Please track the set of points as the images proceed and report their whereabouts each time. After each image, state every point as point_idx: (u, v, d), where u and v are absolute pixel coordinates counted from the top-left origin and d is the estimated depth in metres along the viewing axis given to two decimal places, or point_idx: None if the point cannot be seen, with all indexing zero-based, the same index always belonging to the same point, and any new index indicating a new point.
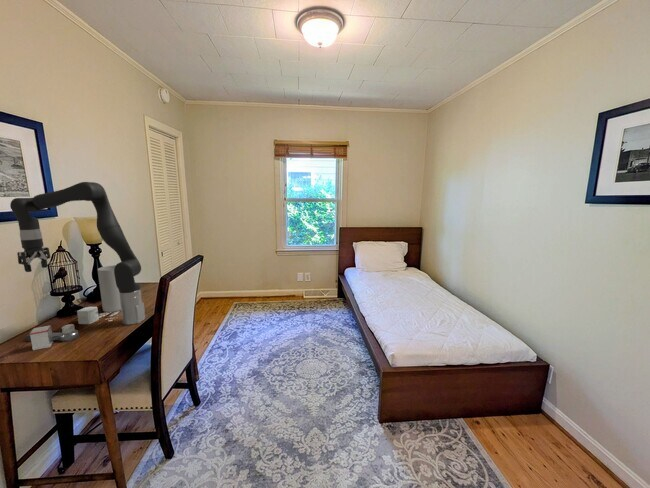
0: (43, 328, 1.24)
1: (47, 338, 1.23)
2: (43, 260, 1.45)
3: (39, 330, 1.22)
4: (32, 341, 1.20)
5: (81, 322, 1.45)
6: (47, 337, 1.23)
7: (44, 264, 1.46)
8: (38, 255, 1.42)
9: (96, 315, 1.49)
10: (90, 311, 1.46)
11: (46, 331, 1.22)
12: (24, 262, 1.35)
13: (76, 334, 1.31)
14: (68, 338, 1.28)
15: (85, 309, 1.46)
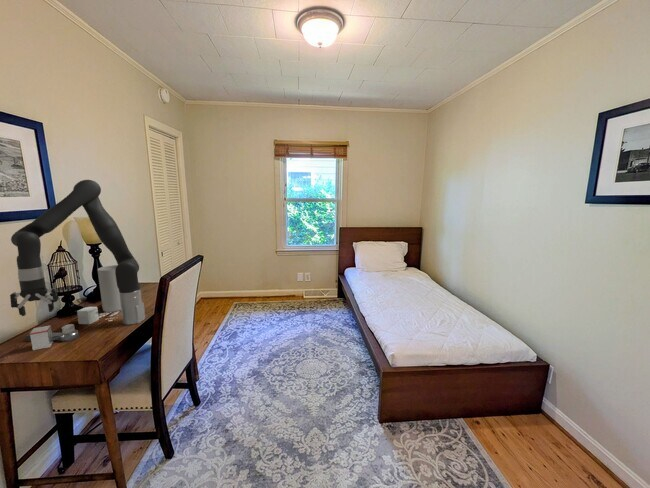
0: (43, 328, 1.24)
1: (47, 338, 1.23)
2: (23, 306, 1.19)
3: (39, 330, 1.22)
4: (32, 341, 1.20)
5: (81, 322, 1.45)
6: (47, 337, 1.23)
7: (24, 311, 1.20)
8: None
9: (96, 315, 1.49)
10: (90, 311, 1.46)
11: (46, 331, 1.22)
12: None
13: (76, 334, 1.31)
14: (68, 338, 1.28)
15: (85, 309, 1.46)
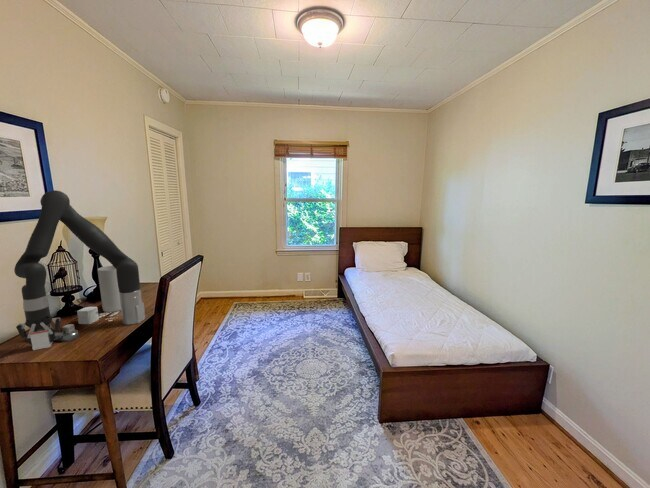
0: None
1: (47, 338, 1.23)
2: None
3: (39, 330, 1.22)
4: (32, 341, 1.20)
5: (81, 322, 1.45)
6: (47, 337, 1.23)
7: None
8: None
9: (96, 315, 1.49)
10: (90, 311, 1.46)
11: (46, 331, 1.22)
12: None
13: (76, 334, 1.31)
14: (68, 338, 1.28)
15: (85, 309, 1.46)
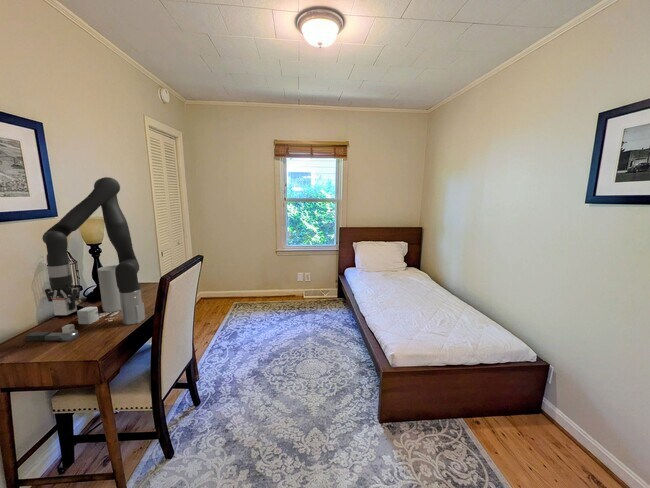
0: None
1: (65, 306, 1.26)
2: None
3: (60, 297, 1.26)
4: (54, 306, 1.25)
5: (81, 322, 1.45)
6: (65, 305, 1.26)
7: None
8: None
9: (96, 315, 1.49)
10: (90, 311, 1.46)
11: (64, 299, 1.25)
12: None
13: (76, 334, 1.31)
14: (68, 338, 1.28)
15: (85, 309, 1.46)
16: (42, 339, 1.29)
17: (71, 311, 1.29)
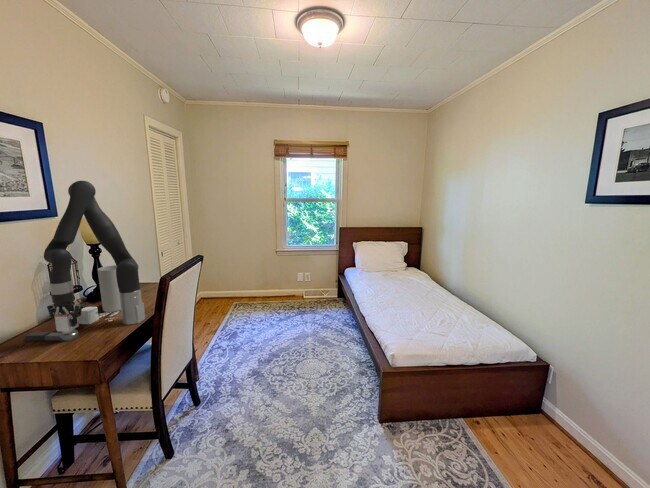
0: None
1: (67, 322, 1.27)
2: None
3: (62, 313, 1.28)
4: (56, 323, 1.27)
5: (81, 322, 1.45)
6: (67, 322, 1.27)
7: None
8: None
9: (96, 315, 1.49)
10: (90, 311, 1.46)
11: (66, 316, 1.26)
12: None
13: (76, 334, 1.31)
14: (68, 338, 1.28)
15: (85, 309, 1.46)
16: (42, 339, 1.29)
17: (73, 327, 1.30)
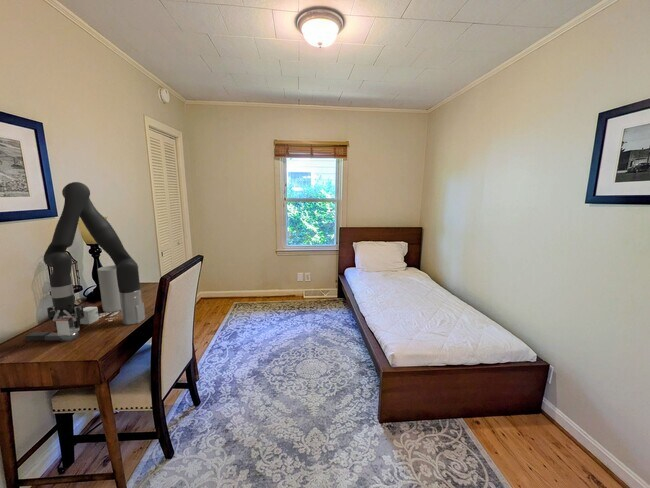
0: None
1: (68, 327, 1.27)
2: None
3: (64, 318, 1.28)
4: (57, 327, 1.27)
5: (81, 322, 1.45)
6: (68, 326, 1.27)
7: None
8: None
9: (96, 315, 1.49)
10: (90, 311, 1.46)
11: (67, 320, 1.27)
12: None
13: (76, 334, 1.31)
14: (68, 338, 1.28)
15: (85, 309, 1.46)
16: (42, 339, 1.29)
17: (74, 331, 1.30)
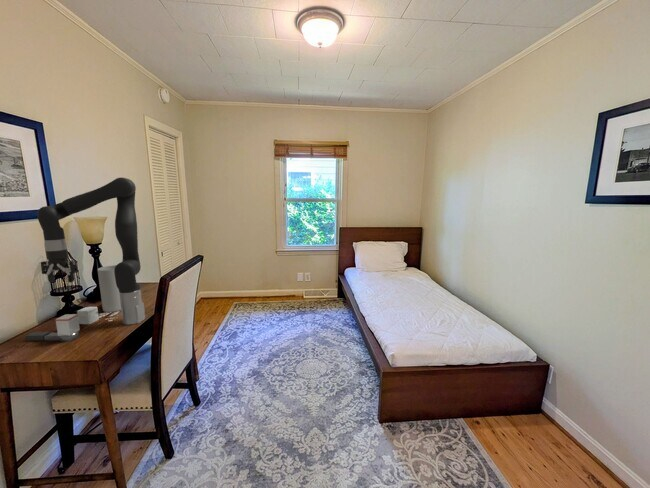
0: (69, 316, 1.29)
1: (68, 327, 1.27)
2: (51, 274, 1.32)
3: (64, 318, 1.28)
4: (57, 327, 1.27)
5: (81, 322, 1.45)
6: (68, 326, 1.27)
7: (53, 278, 1.33)
8: None
9: (96, 315, 1.49)
10: (90, 311, 1.46)
11: (67, 320, 1.27)
12: None
13: (76, 334, 1.31)
14: (68, 338, 1.28)
15: (85, 309, 1.46)
16: (42, 339, 1.29)
17: (74, 331, 1.30)
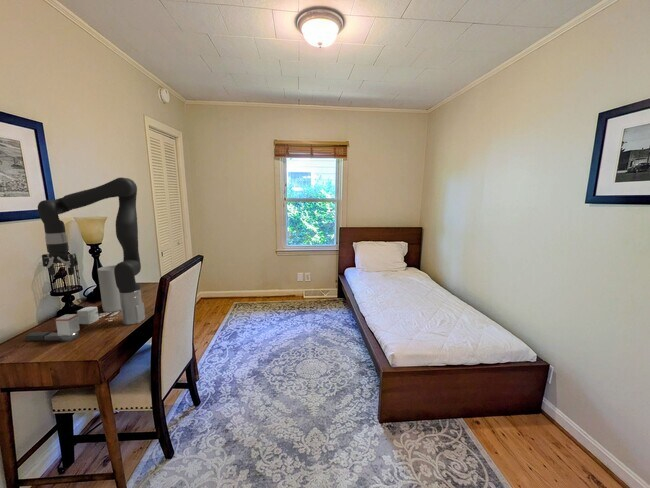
0: (69, 316, 1.29)
1: (68, 327, 1.27)
2: (52, 267, 1.35)
3: (64, 318, 1.28)
4: (57, 327, 1.27)
5: (81, 322, 1.45)
6: (68, 326, 1.27)
7: (54, 271, 1.36)
8: None
9: (96, 315, 1.49)
10: (90, 311, 1.46)
11: (67, 320, 1.27)
12: None
13: (76, 334, 1.31)
14: (68, 338, 1.28)
15: (85, 309, 1.46)
16: (42, 339, 1.29)
17: (74, 331, 1.30)
